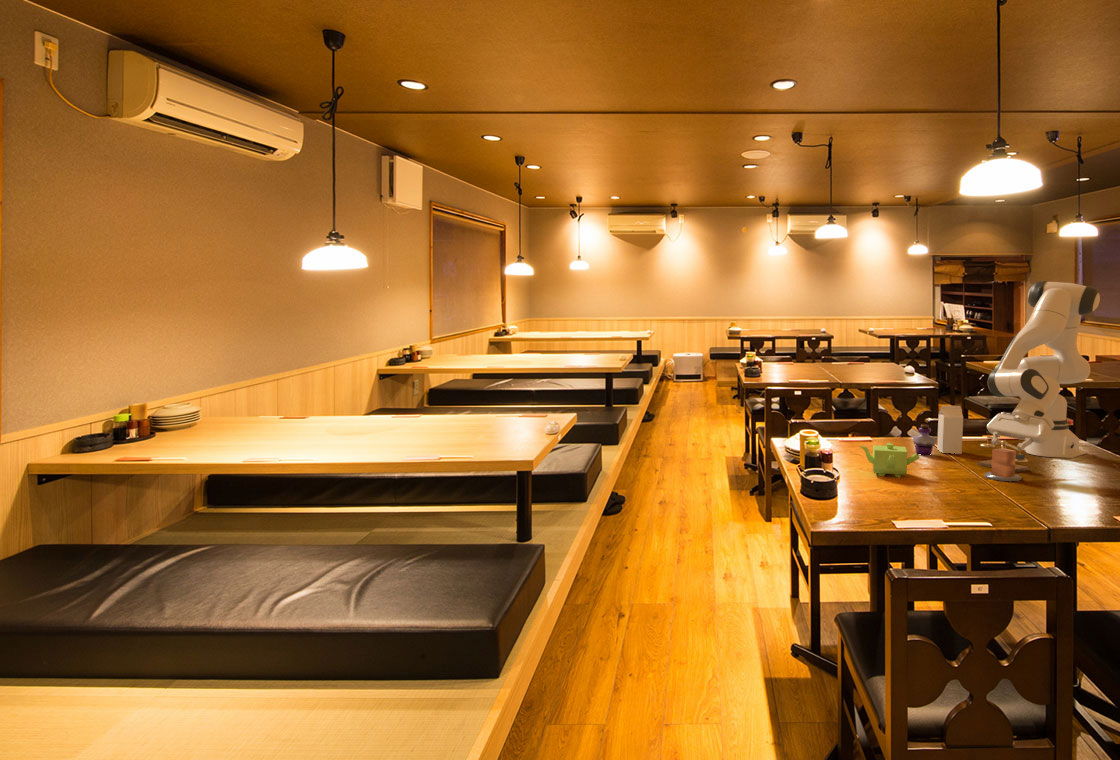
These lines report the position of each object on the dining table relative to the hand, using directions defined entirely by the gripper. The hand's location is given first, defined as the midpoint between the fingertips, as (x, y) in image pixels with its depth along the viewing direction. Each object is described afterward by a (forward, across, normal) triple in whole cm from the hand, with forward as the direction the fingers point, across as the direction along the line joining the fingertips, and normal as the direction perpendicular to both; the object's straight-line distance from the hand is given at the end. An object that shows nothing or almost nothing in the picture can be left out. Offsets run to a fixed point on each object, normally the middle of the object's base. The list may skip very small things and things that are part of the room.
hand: (1006, 446), depth 255 cm
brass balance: (0, -9, +16) cm, 18 cm away
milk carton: (-4, -36, +21) cm, 42 cm away
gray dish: (+9, +1, +6) cm, 11 cm away
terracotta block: (+9, +1, +5) cm, 10 cm away
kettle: (+31, -21, -15) cm, 40 cm away
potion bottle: (+5, -38, +12) cm, 40 cm away
